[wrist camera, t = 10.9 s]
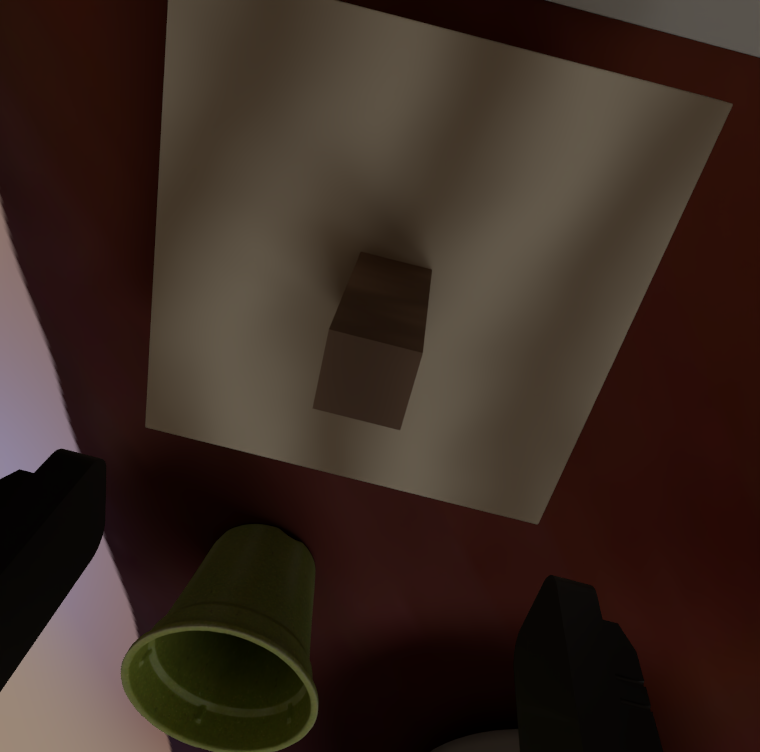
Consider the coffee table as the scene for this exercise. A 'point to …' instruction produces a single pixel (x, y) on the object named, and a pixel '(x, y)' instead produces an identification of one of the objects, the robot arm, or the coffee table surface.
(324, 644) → the coffee table surface
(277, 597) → the plant pot
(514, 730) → the white round tub
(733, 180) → the coffee table surface
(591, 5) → the tray
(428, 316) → the cover board
